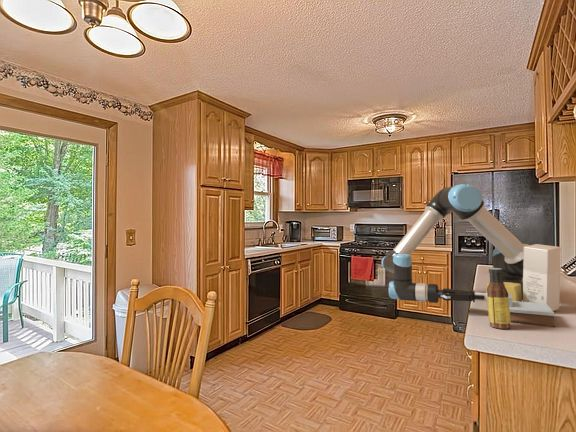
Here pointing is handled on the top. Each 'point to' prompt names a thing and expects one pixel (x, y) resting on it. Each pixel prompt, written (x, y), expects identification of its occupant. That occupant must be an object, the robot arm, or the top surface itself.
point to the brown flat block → (532, 319)
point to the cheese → (512, 290)
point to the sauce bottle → (498, 300)
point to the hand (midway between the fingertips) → (494, 297)
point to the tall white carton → (542, 275)
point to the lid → (529, 307)
